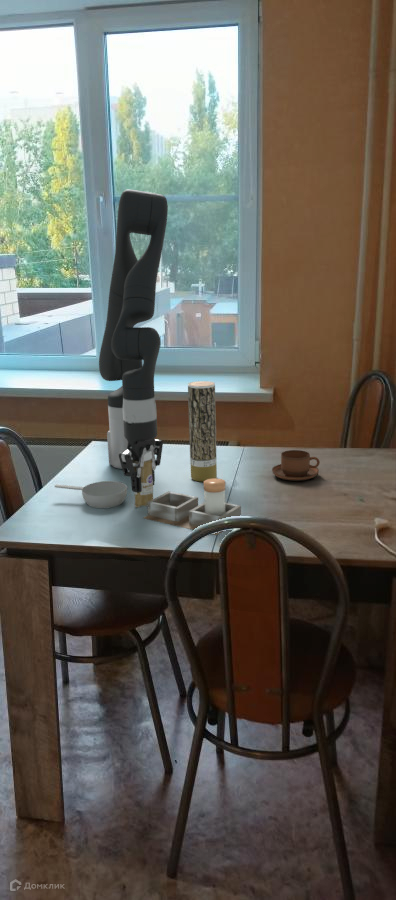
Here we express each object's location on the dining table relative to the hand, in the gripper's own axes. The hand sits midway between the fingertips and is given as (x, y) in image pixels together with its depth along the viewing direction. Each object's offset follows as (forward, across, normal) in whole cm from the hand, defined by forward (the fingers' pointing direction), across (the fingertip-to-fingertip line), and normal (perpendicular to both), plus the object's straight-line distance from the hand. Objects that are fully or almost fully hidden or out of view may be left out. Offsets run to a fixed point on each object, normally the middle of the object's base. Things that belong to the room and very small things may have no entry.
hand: (143, 488), depth 160 cm
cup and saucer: (+5, -37, +21) cm, 43 cm away
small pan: (+5, +3, -14) cm, 15 cm away
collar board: (+4, +2, +15) cm, 16 cm away
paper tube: (+5, -24, +1) cm, 25 cm away
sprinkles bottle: (+4, 0, 0) cm, 4 cm away
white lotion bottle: (+3, +2, +21) cm, 21 cm away
